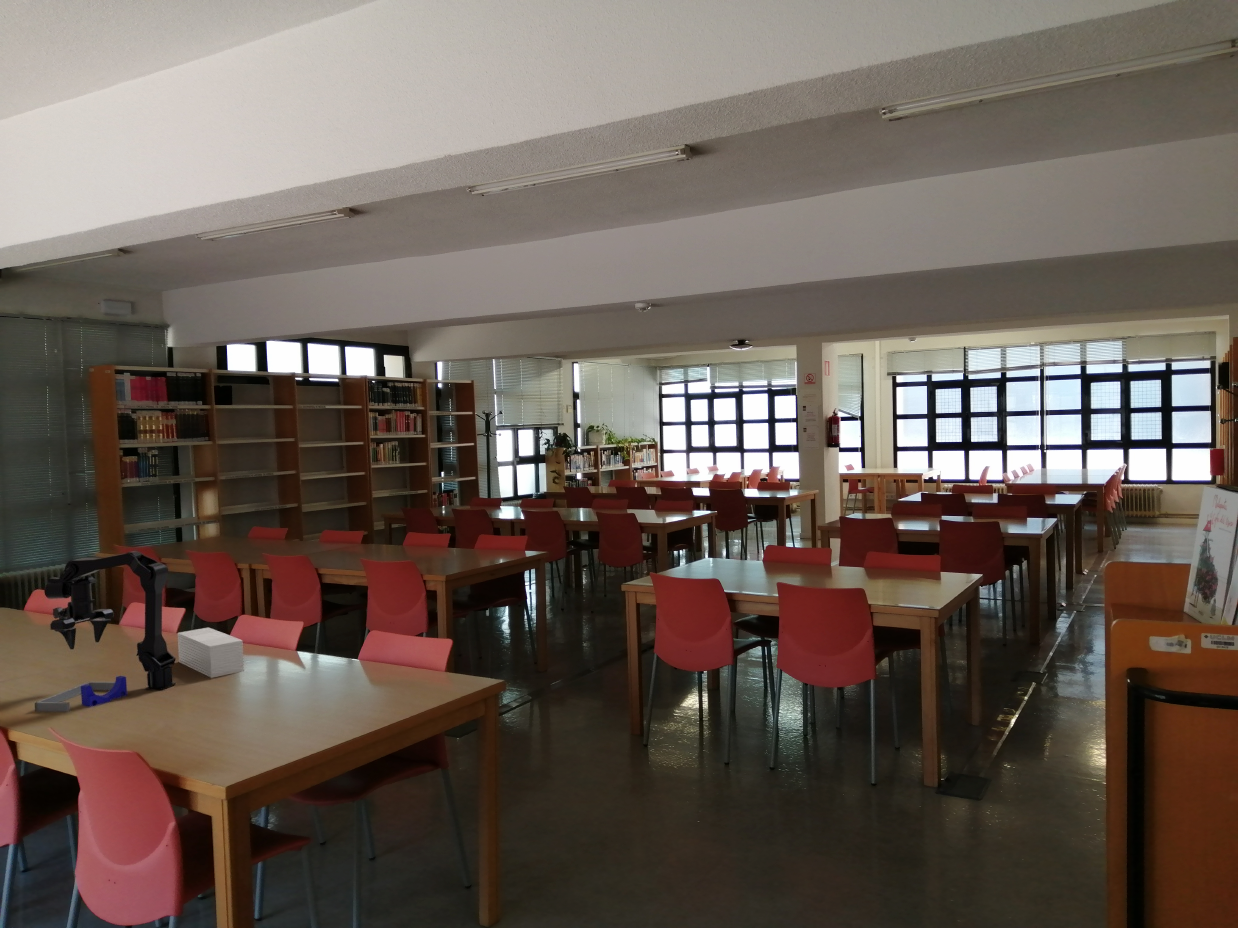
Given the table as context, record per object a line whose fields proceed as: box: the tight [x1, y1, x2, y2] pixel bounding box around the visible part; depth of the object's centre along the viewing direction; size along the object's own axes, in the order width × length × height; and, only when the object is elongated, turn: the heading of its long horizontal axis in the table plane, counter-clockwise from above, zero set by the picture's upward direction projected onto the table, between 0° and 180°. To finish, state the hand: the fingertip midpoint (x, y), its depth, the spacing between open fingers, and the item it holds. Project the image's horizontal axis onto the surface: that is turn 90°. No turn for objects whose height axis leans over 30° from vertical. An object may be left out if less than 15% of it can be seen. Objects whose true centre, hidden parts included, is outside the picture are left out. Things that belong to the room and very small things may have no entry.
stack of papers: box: [177, 627, 245, 678], centre depth 305 cm, size 32×11×11 cm, turn 44°
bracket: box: [34, 681, 115, 713], centre depth 269 cm, size 11×22×2 cm, turn 172°
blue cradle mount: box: [80, 675, 128, 708], centre depth 268 cm, size 12×4×6 cm, turn 149°
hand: (84, 645), depth 282 cm, fingers open, 9 cm apart
